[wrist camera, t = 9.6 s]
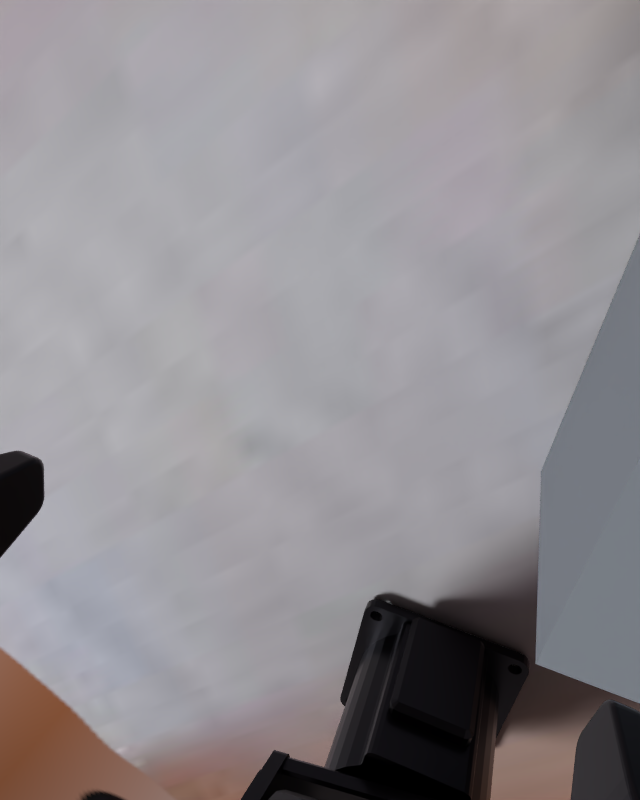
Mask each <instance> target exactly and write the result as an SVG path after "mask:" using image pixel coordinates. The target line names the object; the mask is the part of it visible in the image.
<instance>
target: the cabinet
mask: <svg viewBox="0 0 640 800" xmlns="http://www.w3.org/2000/svg"><path fill="white" fill-rule="evenodd" d="M535 664H537V665H540V666H542V667H545V668H547V669H550V670H553V671H555V672H558V673H561V674H563V675H566V676H568V677H571V678H574V679H576V680H579V681H582V682H584V683H587V684H590V685H592V686H595V687H597V688H600V689H603V690H605V691H608V692H611V693H613V694H616V695H619V696H621V697H624V698H626V699H629V700H632V701H634V702H637V703H640V235H639V238H638V240H637V243H636V245H635V247H634V250H633V252H632V255H631V257H630V259H629V262H628V264H627V267H626V269H625V271H624V274H623V276H622V279H621V281H620V283H619V286H618V288H617V291H616V293H615V295H614V298H613V300H612V303H611V305H610V307H609V310H608V312H607V315H606V317H605V320H604V322H603V324H602V327H601V329H600V332H599V334H598V336H597V339H596V341H595V344H594V346H593V348H592V351H591V353H590V356H589V358H588V360H587V363H586V365H585V368H584V370H583V372H582V375H581V377H580V380H579V382H578V384H577V387H576V389H575V392H574V394H573V396H572V399H571V401H570V404H569V406H568V408H567V411H566V413H565V416H564V418H563V420H562V423H561V425H560V428H559V430H558V432H557V435H556V437H555V440H554V442H553V444H552V447H551V449H550V452H549V454H548V457H547V459H546V461H545V464H544V466H543V469H542V471H541V496H540V529H539V561H538V594H537V627H536V660H535Z"/></svg>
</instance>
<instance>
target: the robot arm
mask: <svg viewBox="0 0 640 800" xmlns="http://www.w3.org/2000/svg"><path fill="white" fill-rule="evenodd" d="M43 501H44V466H43V463H42V461H41V460H40V459H39V458H37V457H34V456H32V455H30V454H27V453H25V452H22V451H13V452H8V453H4V454H0V558H1V556H2V555H3V554H4V553H5V552H6V550H7V549H8V548H9V547H10V546H11V545H12V543H13V542H14V541H15V540H16V539H17V537H18V536H19V535H20V534H21V533H22V531H23V530H24V529H25V528H26V527H27V525H28V524H29V523H30V522H31V521H32V519H33V518H34V517H35V516H36V515H37V513H38V512H39V510H40V509H41V507H42V504H43ZM374 611H377V612H379V613H381V614H377V613H376V612H374ZM512 664H515V665H518V666H513V665H512ZM528 673H529V661H528V658H527V657H526V656H525V655H523V654H521V653H519V652H517V651H514V650H511V649H509V648H506V647H503V646H501V645H498V644H496V643H493V642H490V641H488V640H485V639H482V638H480V637H477V636H474V635H472V634H469V633H466V632H464V631H461V630H458V629H456V628H453V627H451V626H448V625H445V624H443V623H440V622H437V621H435V620H432V619H429V618H427V617H424V616H421V615H419V614H416V613H413V612H411V611H408V610H406V609H403V608H400V607H398V606H395V605H392V604H390V603H387V602H384V601H382V600H377V599H375V600H371V601H369V602H368V604H367V606H366V609H365V612H364V615H363V619H362V622H361V626H360V629H359V633H358V637H357V640H356V644H355V647H354V651H353V654H352V658H351V662H350V665H349V669H348V672H347V676H346V680H345V683H344V687H343V690H342V694H341V697H340V698H341V702H342V704H343V705H344V706H345V708H344V711H343V714H342V717H341V720H340V723H339V726H338V729H337V732H336V735H335V738H334V741H333V744H332V746H331V749H330V752H329V755H328V758H327V761H326V764H325V767H322V766H318V765H315V764H311V763H308V762H304V761H300V760H297V759H293V758H290V756H289V754H286V753H283V752H279V751H276V750H274V751H273V752H272V754H271V756H270V757H269V759H268V760H267V762H266V763H265V765H264V766H263V768H262V770H260V771H259V772H258V773H257V775H256V777H255V778H254V780H253V781H252V783H251V784H250V786H249V787H248V789H247V791H246V792H245V794H244V795H243V797H242V798H241V800H490V797H491V785H492V774H493V763H494V752H495V740H496V737H497V735H498V733H499V731H500V729H501V727H502V725H503V723H504V721H505V719H506V717H507V715H508V713H509V712H510V710H511V708H512V706H513V704H514V702H515V700H516V698H517V696H518V694H519V692H520V690H521V688H522V686H523V684H524V682H525V680H526V678H527V676H528ZM571 800H640V712H638V711H637V710H635V709H633V708H631V707H628V706H626V705H623V704H621V703H619V702H616V701H614V700H607V701H605V702H604V703H603V704H602V705H601V706H600V708H599V709H598V710H597V712H596V713H595V714H594V716H593V717H592V719H591V720H590V721H589V723H588V724H587V725H586V727H585V728H584V730H583V731H582V733H581V735H580V737H579V739H578V743H577V747H576V754H575V764H574V774H573V783H572V793H571Z"/></svg>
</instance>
